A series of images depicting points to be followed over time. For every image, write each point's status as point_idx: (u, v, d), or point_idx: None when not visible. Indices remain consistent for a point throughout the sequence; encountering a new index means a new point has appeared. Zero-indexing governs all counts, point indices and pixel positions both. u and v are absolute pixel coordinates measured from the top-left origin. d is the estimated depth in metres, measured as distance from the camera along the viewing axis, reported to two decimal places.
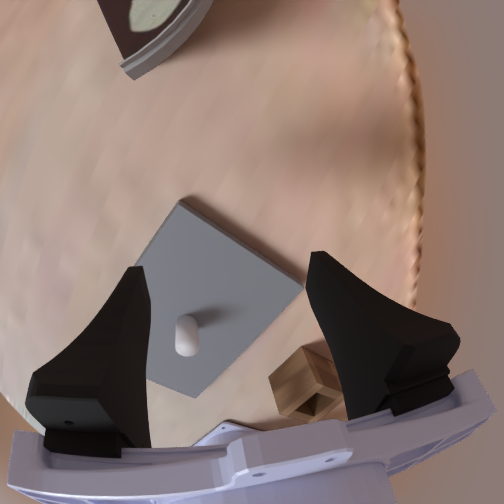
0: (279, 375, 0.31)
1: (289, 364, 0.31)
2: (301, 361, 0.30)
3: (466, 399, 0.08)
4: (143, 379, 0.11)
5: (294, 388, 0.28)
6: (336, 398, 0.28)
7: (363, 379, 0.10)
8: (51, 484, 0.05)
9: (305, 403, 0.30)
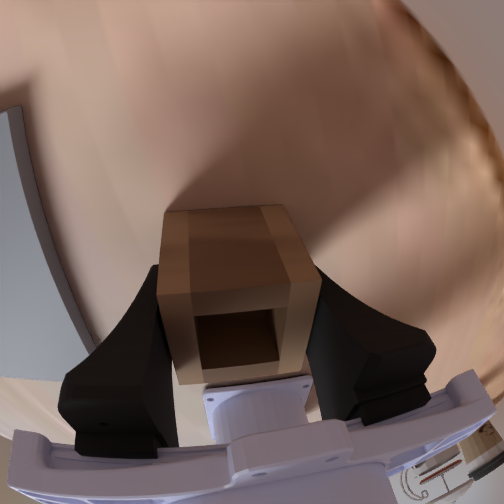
0: None
1: None
2: None
3: (466, 399, 0.08)
4: (170, 378, 0.11)
5: None
6: (286, 304, 0.10)
7: (335, 386, 0.10)
8: (51, 484, 0.05)
9: (254, 332, 0.13)
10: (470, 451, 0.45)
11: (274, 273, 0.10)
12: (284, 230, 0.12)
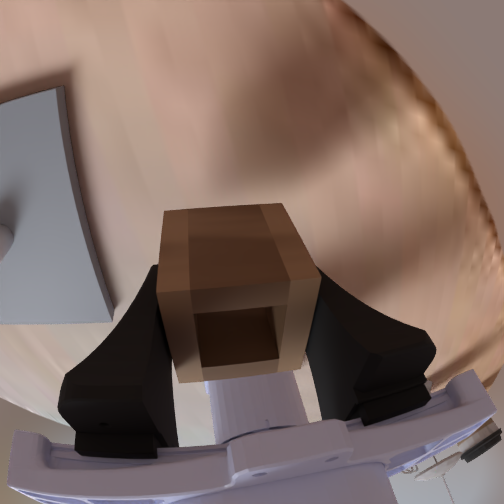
0: None
1: None
2: None
3: (466, 399, 0.08)
4: (170, 378, 0.11)
5: None
6: (285, 301, 0.10)
7: (335, 386, 0.10)
8: (51, 484, 0.05)
9: (254, 330, 0.13)
10: None
11: (274, 271, 0.10)
12: (284, 228, 0.12)
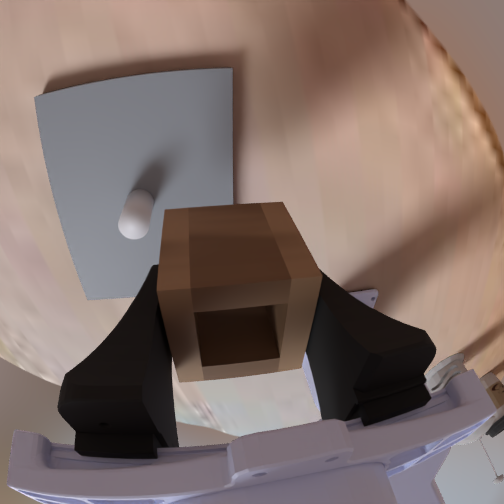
0: None
1: None
2: None
3: (466, 399, 0.08)
4: (170, 378, 0.11)
5: None
6: (286, 300, 0.10)
7: (335, 386, 0.10)
8: (51, 484, 0.05)
9: (254, 329, 0.13)
10: None
11: (274, 269, 0.10)
12: (284, 227, 0.12)
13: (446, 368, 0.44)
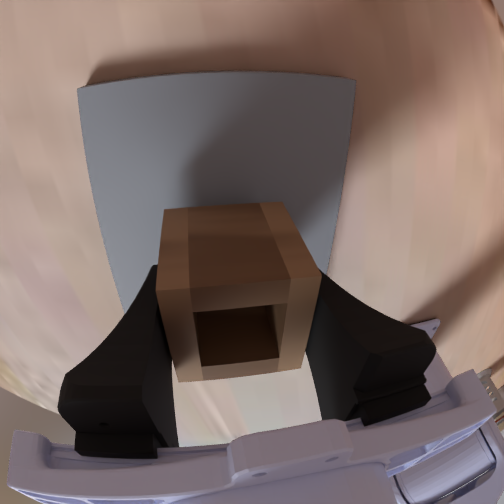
0: None
1: None
2: None
3: (466, 399, 0.08)
4: (170, 378, 0.11)
5: None
6: (285, 300, 0.10)
7: (335, 386, 0.10)
8: (51, 484, 0.05)
9: (254, 329, 0.13)
10: None
11: (274, 269, 0.10)
12: (284, 226, 0.12)
13: None
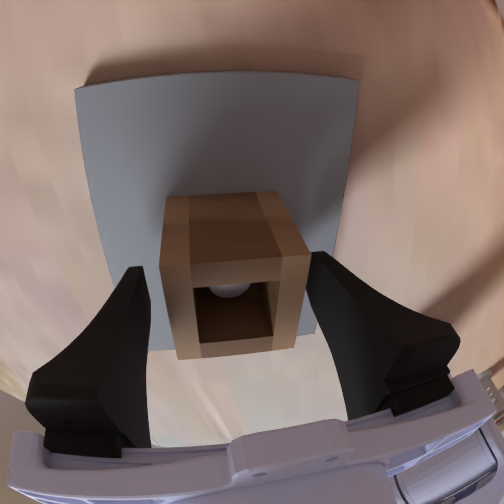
0: None
1: None
2: None
3: (466, 399, 0.08)
4: (143, 379, 0.11)
5: None
6: (278, 277, 0.11)
7: (363, 379, 0.10)
8: (51, 484, 0.05)
9: (250, 310, 0.14)
10: None
11: (267, 248, 0.11)
12: (277, 212, 0.13)
13: None
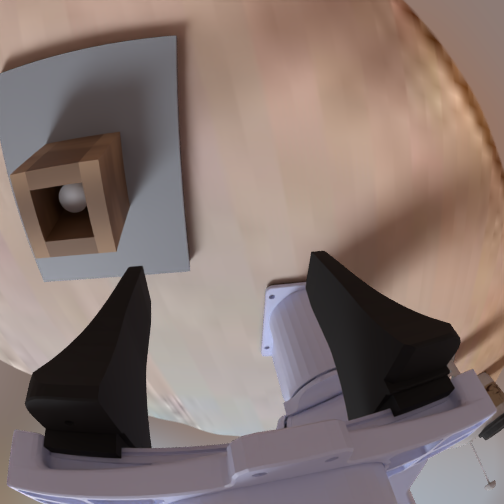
0: None
1: None
2: None
3: (466, 399, 0.08)
4: (143, 379, 0.11)
5: None
6: (80, 180, 0.13)
7: (363, 379, 0.10)
8: (51, 484, 0.05)
9: (89, 222, 0.16)
10: None
11: (74, 159, 0.13)
12: (104, 142, 0.15)
13: None
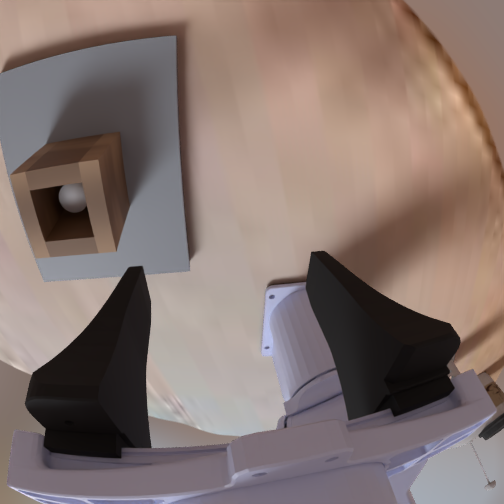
0: None
1: None
2: None
3: (466, 399, 0.08)
4: (143, 379, 0.11)
5: None
6: (80, 180, 0.13)
7: (363, 379, 0.10)
8: (51, 484, 0.05)
9: (89, 222, 0.16)
10: None
11: (74, 159, 0.13)
12: (104, 142, 0.15)
13: None
